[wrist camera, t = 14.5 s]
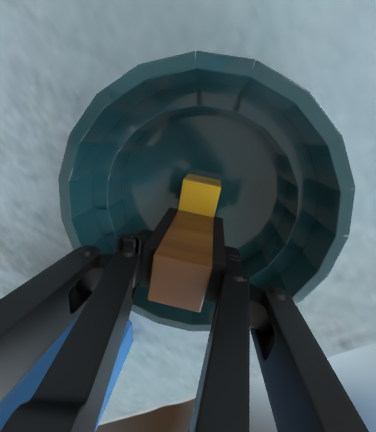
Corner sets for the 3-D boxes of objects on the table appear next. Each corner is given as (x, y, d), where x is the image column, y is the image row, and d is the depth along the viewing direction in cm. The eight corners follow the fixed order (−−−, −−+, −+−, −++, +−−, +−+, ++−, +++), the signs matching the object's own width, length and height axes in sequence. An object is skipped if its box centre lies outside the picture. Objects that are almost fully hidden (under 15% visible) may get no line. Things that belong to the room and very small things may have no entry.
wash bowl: (106, 66, 17) (46, 27, 11) (347, 105, 16) (428, 84, 10) (104, 261, 24) (67, 301, 18) (268, 298, 23) (287, 354, 17)
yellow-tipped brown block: (188, 173, 18) (158, 208, 9) (220, 179, 18) (224, 222, 9) (175, 248, 21) (142, 332, 12) (202, 254, 21) (192, 344, 12)
